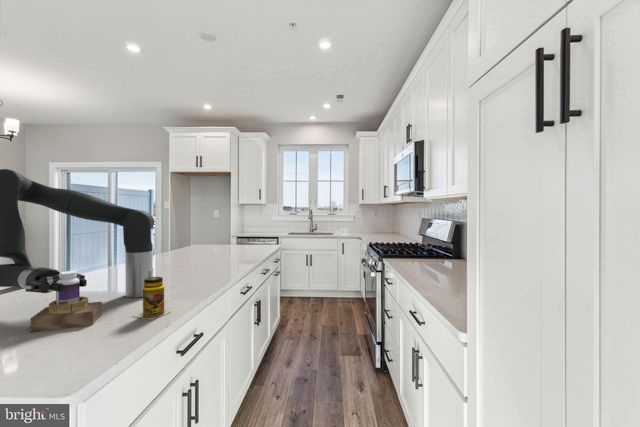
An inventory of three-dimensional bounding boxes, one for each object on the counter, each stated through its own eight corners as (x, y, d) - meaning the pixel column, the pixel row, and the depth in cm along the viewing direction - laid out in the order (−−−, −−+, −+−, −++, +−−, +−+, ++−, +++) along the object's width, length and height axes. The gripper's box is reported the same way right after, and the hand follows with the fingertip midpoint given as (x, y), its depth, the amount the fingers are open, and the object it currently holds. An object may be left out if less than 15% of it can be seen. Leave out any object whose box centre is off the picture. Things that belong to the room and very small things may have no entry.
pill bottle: (84, 303, 91) (84, 271, 91) (63, 308, 86) (63, 275, 86) (72, 300, 93) (72, 269, 93) (51, 306, 88) (51, 273, 88)
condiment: (153, 320, 92) (152, 281, 92) (132, 317, 95) (131, 279, 95) (171, 312, 99) (171, 276, 99) (151, 309, 102) (151, 274, 101)
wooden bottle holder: (101, 313, 97) (101, 293, 97) (92, 324, 88) (92, 302, 88) (46, 319, 92) (46, 298, 92) (30, 332, 83) (30, 309, 82)
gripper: (9, 272, 88) (44, 278, 82) (66, 263, 101) (99, 268, 95) (10, 297, 88) (44, 305, 82) (66, 285, 102) (99, 291, 95)
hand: (73, 285), depth 89 cm, fingers closed on pill bottle, 5 cm apart
